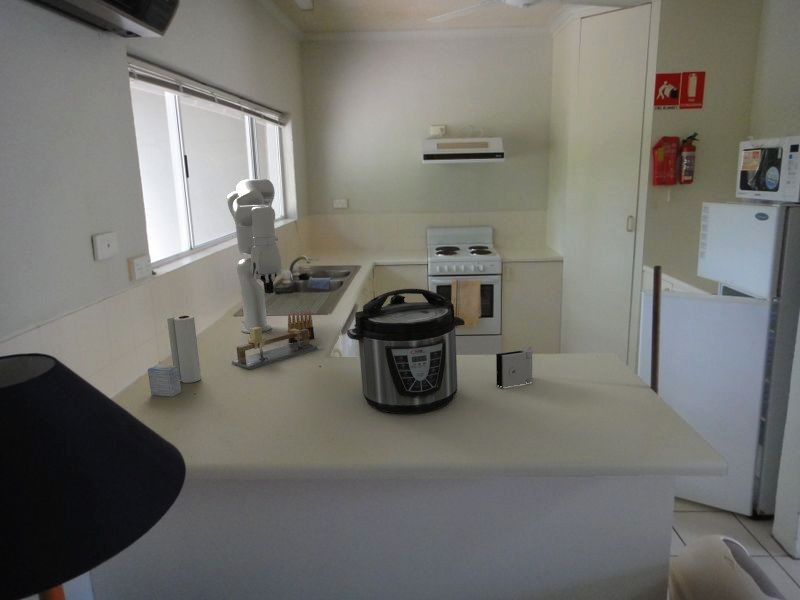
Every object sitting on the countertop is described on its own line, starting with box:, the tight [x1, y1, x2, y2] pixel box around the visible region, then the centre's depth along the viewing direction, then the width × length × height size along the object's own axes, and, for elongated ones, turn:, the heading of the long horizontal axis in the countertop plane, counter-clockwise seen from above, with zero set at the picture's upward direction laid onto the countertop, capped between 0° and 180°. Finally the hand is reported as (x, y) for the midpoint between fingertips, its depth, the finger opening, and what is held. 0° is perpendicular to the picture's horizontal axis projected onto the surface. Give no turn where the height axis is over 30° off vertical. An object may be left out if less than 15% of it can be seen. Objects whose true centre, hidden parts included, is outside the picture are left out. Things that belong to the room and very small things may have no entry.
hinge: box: [495, 345, 533, 388], centre depth 170 cm, size 14×5×10 cm, turn 120°
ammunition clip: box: [287, 309, 316, 344], centre depth 229 cm, size 11×2×12 cm, turn 124°
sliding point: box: [247, 327, 266, 359], centre depth 203 cm, size 5×4×11 cm
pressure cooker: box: [346, 288, 466, 414], centre depth 159 cm, size 30×28×32 cm
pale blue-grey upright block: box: [147, 364, 182, 398], centre depth 175 cm, size 8×4×9 cm, turn 71°
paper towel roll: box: [166, 314, 202, 384], centre depth 185 cm, size 7×6×21 cm
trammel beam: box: [236, 329, 310, 364], centre depth 209 cm, size 4×30×7 cm, turn 138°
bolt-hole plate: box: [231, 341, 319, 371], centre depth 210 cm, size 11×30×1 cm, turn 137°
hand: (269, 292), depth 206 cm, fingers closed
